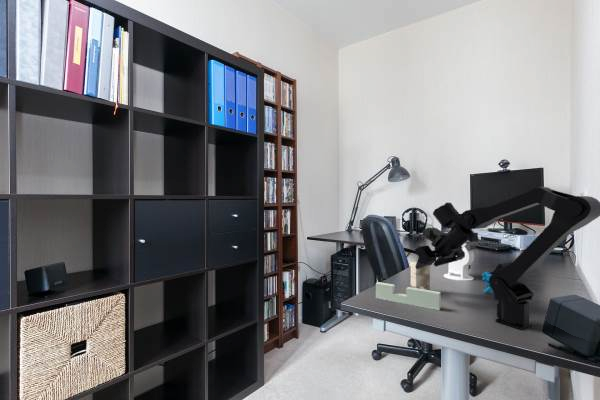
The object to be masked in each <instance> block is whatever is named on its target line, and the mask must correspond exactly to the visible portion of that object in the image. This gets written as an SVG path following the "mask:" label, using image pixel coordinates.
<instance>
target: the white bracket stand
mask: <svg viewBox="0 0 600 400" xmlns="http://www.w3.org/2000/svg"><path fill="white" fill-rule="evenodd" d="M462 247H463V248H462V250H463V251H464V252H465V257H464V258H463V259H461V260H458V261H455V262H451V263H448V271H447V273H444V274H443V277H444V278H446V279H449V280H452V281H458V282H459V281H461V282H468V281H469V282H471V281H473V280H474V277H473V276H471V275H469V270H471V264H472V263H473V262H474V261H475V259H476V255H475V254H476V253H475V250H476V245H475V243H466V242H465V243H464V244H463V245H462ZM456 257H457V256H456Z"/></svg>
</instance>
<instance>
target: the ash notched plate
mask: <svg viewBox="0 0 600 400" xmlns="http://www.w3.org/2000/svg"><path fill="white" fill-rule="evenodd" d="M417 261H418V260H417ZM417 261H411V262H410V287H412V288H418V289H420V287H421V289H424V290H430V291H431V265H429V266H426V267H423V268H420V269H416V267H415V266H416V263H417Z"/></svg>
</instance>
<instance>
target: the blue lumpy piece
mask: <svg viewBox="0 0 600 400" xmlns="http://www.w3.org/2000/svg"><path fill="white" fill-rule="evenodd" d="M481 276H482V281H484V282H485V283H484V284H485V286H486V287H487V288H485V289H484V290H483V293H484V294H488V293H489V292H491V293H493V290H492V289H491V287H490V284H489V278H490V276H491V274H490V271H489V272H488V271H484V273H482V274H481Z"/></svg>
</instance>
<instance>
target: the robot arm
mask: <svg viewBox="0 0 600 400" xmlns="http://www.w3.org/2000/svg"><path fill="white" fill-rule="evenodd" d="M538 205H541V206H543V207H545V208H547V209H548V210H552V211H554V212H553V214H552V217H551V220H550V222H549V224H548V225H547V226H546V227H545V228H544V230H543V231H541V233H540V234H539V235H538V236H537V237H535V238H534V240H532V241H531V243H529V245H528V246H527V247H526V248H525V249H524V250H523V251H522V252H521V253H520V254H519V255H518V256H517V257H516V258H515V259H514V260H513V261H507V262H501V263H498V264H497V266H496V267H495V268H494V270H493V271H491V272H489V274H491V276H490V275H489V276H490V278H489V284H490V287H491V289H492V290H493V292H492V293H493V295H494V298H495V300H496V301H498V302H497V303H496V318H495V319H494V320H495V322H497V323H499V324H503V325H505V326H509V327H512V328H516V329H518V330H524V329H525V328H527V327H530V326H532V325H533V322H532V321H530V302H529V301H532V299H533V297H534V295H535V294H534V292H533V291H532V290H531V289H530V287H528V285H527V284H526V283H527V282H528V280H529V277H530V274H531V272H532V271H533V270H534V269H535V268H536V267H537V266H538V265H540V264H541V262H543V260H544V259H546V257H548V255H550V254H551V253H552V252H553V251H554V250H555V249H556V248H557V247H558V246H559V245H560V244H561V243H562V242H563V241H564V240H565V239H566V238H568V236H569V235H570V234H572V233H574V232H575V231H577V230H580V229H581V228H584V227H585V226H587V225H589V224H590V223H591V222H593V221H595V220H596V219H598V218H599V217H600V201H599V200H598V199H597V198H596V197H593V196H587V195H573V194H570V193H566V192H561V191H558V190H555V189H551V188H550V187H546V186H536V187H535V186H534V187H533V188H530V189H529V190H526V191H524V192H522V193H519V194H517V195H515V196H512V197H509V198H507V199H504V200H501V201H499V202H497V203H494V204H492V205H488V206H482V207H476V208H472V209H468V210H465V211H463V212H461V213H459V211H458V210H457V208H455V207H454V204H452V202H445V203H444V204H442V205H440V206H439V207H436V208H435V209H434V211H433V212H432V216H433V217H434V218H435V219H436V220H437V222H438V223H439V224H440V225H441V226H442V228H444V229H449V230H448V231H447V233H444V232H443V231H442V230H440V229H438V228H437V227H427V228H424V229H423V230H422V234H421V235H422V237H424V238H425V239H427V240H428V241H430V242H431V243H430V244H431V246H432V247H434V248H433V249H434V250H432V249H431V247H430V245H427V244H423V245H421V244H420V245H417V246H416V247H415V248H414V252H415V254H416V255H417V257H418V258H417V263H416V266H415V267H416V269H420V268H423V267H426V266H429V265H430V266H432V265H433V266H434V267H439V266H444V265H446V264H447V265H448V264H449V263H451V262H455V261H458V260H461V259H463V258H464V257H465V252H464V251H463V250H462V248H463V247H462V245H463V244H464V243H465V244H466V243H467V242H470V243H474V242H479V235H478V234H479V233H478V232H475V231H473V230H480V229H486V228H488V227H489V226H491V225H493V224H495V223H496V222H497V221H498V220H500V219H501V218H504V217H507V216H510V215H512V214H516V213H519V212H521V211H524V210H527V209H530V208H533V207H535V206H538ZM456 256H457V257H456Z"/></svg>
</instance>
